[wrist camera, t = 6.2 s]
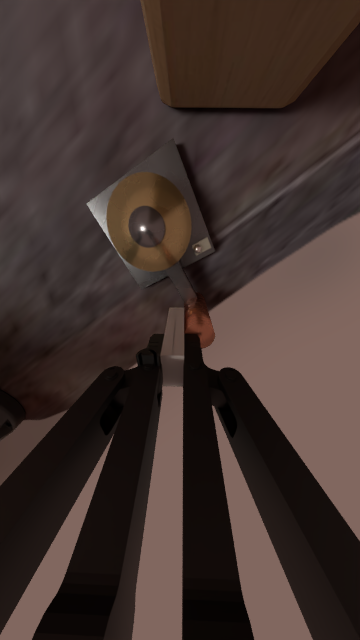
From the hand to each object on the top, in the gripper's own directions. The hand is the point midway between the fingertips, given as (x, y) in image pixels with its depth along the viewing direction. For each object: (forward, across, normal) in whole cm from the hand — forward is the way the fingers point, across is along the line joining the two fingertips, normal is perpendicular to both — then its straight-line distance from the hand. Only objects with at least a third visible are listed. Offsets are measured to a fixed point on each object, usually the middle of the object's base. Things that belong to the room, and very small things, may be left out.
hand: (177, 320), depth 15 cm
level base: (+5, -2, +8) cm, 10 cm away
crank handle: (+4, -1, +5) cm, 6 cm away
